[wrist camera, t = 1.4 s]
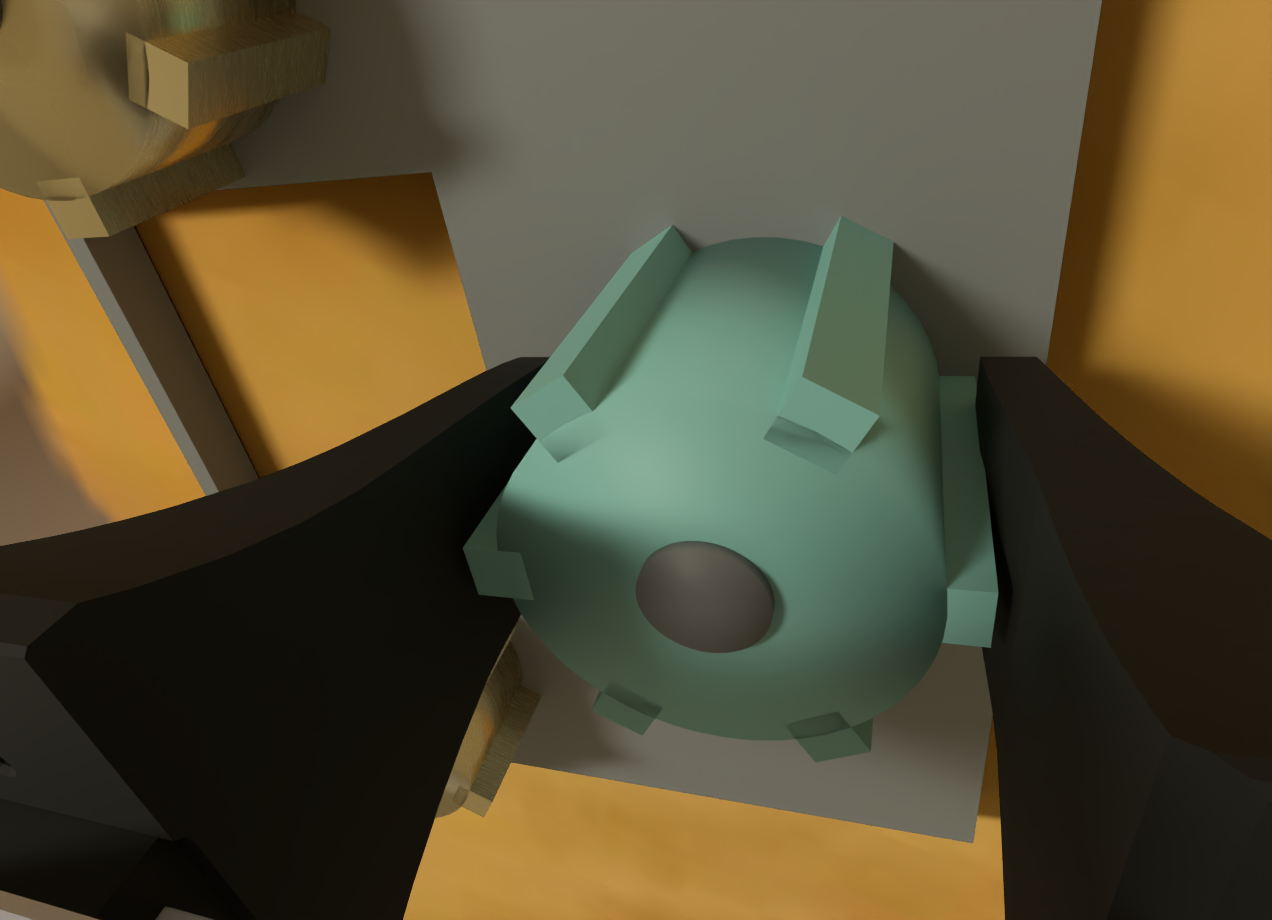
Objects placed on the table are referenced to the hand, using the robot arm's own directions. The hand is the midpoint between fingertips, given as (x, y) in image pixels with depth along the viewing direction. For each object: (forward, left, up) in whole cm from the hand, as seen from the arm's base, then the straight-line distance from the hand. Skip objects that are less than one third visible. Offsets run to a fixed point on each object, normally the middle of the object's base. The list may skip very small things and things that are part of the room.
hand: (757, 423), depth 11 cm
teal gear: (0, 0, -1) cm, 1 cm away
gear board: (0, +4, -2) cm, 4 cm away
